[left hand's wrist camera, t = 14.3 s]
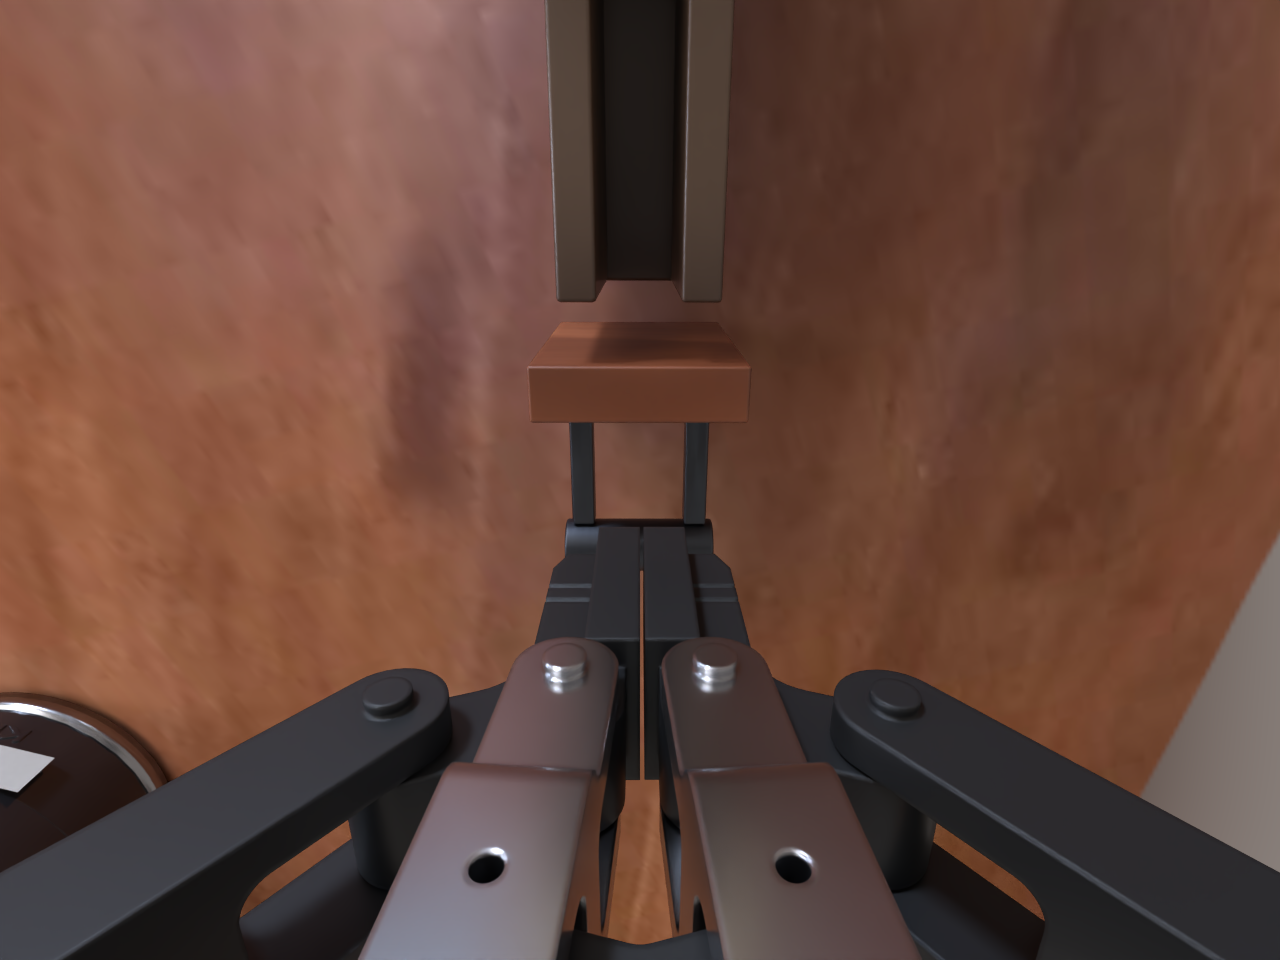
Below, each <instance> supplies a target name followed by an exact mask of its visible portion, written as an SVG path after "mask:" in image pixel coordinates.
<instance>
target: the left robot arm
mask: <svg viewBox="0 0 1280 960" xmlns="http://www.w3.org/2000/svg"><path fill="white" fill-rule="evenodd" d="M643 646H644V767H645V780H659V790H660V822H659V826H660V839H661V847H662V855H663V863H664V871H665V880H666V888H667V896H668V904H669V912H670V920H671V929H672V937H673V938H670V939H666V940H662V941H658V942H654V943H650V944H644V945H635V944H630V943H626V942H622V941H618V940H614V939H610V938H607V937H608V929H609V920H610V912H611V904H612V896H613V888H614V880H615V871H616V863H617V855H618V847H619V839H620V826H621V822H620V813H621V812H622V809H623V806H624V802H625V783H626V780H640V527H599V533H598V540H597V548H596V554H569V555H567V556H566V557H565V558H564V559H563V560H562V561H561V562H560V563H559V564H558V565H557V566H555V567H554V568H553V572H552V576H551V580H550V584H549V589H548V593H547V597H546V602H545V605H544V609H543V613H542V617H541V621H540V625H539V629H538V633H537V637H536V641H535V645H532V646H531V647H529V648H527V649H526V650H525V651H523V652H522V653H521V654H520V655H519V656H518V657H517V658H516V660H515V661H514V663H513V665H512V668H511V670H510V673H509V675H508V677H507V680H506V681H505V682H503V683H501V684H499V685H496V686H494V687H491V688H488V689H484V690H480V691H476V692H472V693H467V694H462V695H458V696H453V697H449V692H448V688H447V685H446V683H445V682H444V681H443V679H441V678H440V677H439V676H437V675H436V674H433V673H431V672H429V671H425V670H421V669H411V668H403V669H393V670H387V671H383V672H379V673H376V674H373V675H370V676H367V677H365V678H363V679H361V680H359V681H357V682H355V683H353V684H351V685H349V686H347V687H346V688H344V689H342V690H340V691H338V692H336V693H334V694H332V695H331V696H329V697H327V698H325V699H323V700H321V701H319V702H318V703H316V704H314V705H312V706H310V707H308V708H306V709H304V710H303V711H301V712H299V713H297V714H295V715H293V716H291V717H290V718H288V719H286V720H284V721H282V722H280V723H278V724H277V725H275V726H273V727H271V728H269V729H267V730H265V731H263V732H262V733H260V734H258V735H256V736H254V737H252V738H250V739H249V740H247V741H245V742H243V743H241V744H239V745H237V746H236V747H234V748H232V749H230V750H228V751H226V752H224V753H222V754H221V755H219V756H217V757H215V758H213V759H211V760H209V761H208V762H206V763H204V764H202V765H200V766H198V767H196V768H195V769H193V770H191V771H189V772H187V773H185V774H183V775H181V776H180V777H178V778H176V779H174V780H172V781H170V782H167V780H166V778H165V775H164V774H163V772H162V770H161V769H160V767H159V766H158V764H157V763H156V761H155V760H154V759H153V757H152V756H151V755H150V754H149V753H148V752H147V751H146V749H145V748H144V747H143V746H142V745H141V744H140V743H139V742H138V741H137V740H135V739H134V738H133V737H132V736H131V735H129V734H128V733H127V732H126V731H124V730H123V729H121V728H120V727H119V726H117V725H116V724H114V723H113V722H111V721H109V720H108V719H106V718H104V717H103V716H101V715H99V714H97V713H95V712H93V711H91V710H89V709H86V708H84V707H82V706H79V705H76V704H74V703H71V702H68V701H65V700H61V699H58V698H54V697H49V696H44V695H39V694H31V693H18V692H9V693H0V960H1280V873H1279V872H1278V871H1276V870H1274V869H1272V868H1270V867H1268V866H1266V865H1264V864H1263V863H1261V862H1259V861H1257V860H1255V859H1253V858H1251V857H1250V856H1248V855H1246V854H1244V853H1242V852H1240V851H1238V850H1236V849H1235V848H1233V847H1231V846H1229V845H1227V844H1225V843H1223V842H1222V841H1220V840H1218V839H1216V838H1214V837H1212V836H1210V835H1209V834H1207V833H1205V832H1203V831H1201V830H1199V829H1197V828H1196V827H1194V826H1192V825H1190V824H1188V823H1186V822H1184V821H1182V820H1181V819H1179V818H1177V817H1175V816H1173V815H1171V814H1169V813H1168V812H1166V811H1164V810H1162V809H1160V808H1158V807H1156V806H1154V805H1153V804H1151V803H1149V802H1147V801H1145V800H1143V799H1141V798H1140V797H1138V796H1136V795H1134V794H1132V793H1130V792H1128V791H1127V790H1125V789H1123V788H1121V787H1119V786H1117V785H1115V784H1113V783H1112V782H1110V781H1108V780H1106V779H1104V778H1102V777H1100V776H1099V775H1097V774H1095V773H1093V772H1091V771H1089V770H1087V769H1086V768H1084V767H1082V766H1080V765H1078V764H1076V763H1074V762H1072V761H1071V760H1069V759H1067V758H1065V757H1063V756H1061V755H1059V754H1058V753H1056V752H1054V751H1052V750H1050V749H1048V748H1046V747H1045V746H1043V745H1041V744H1039V743H1037V742H1035V741H1033V740H1031V739H1030V738H1028V737H1026V736H1024V735H1022V734H1020V733H1018V732H1017V731H1015V730H1013V729H1011V728H1009V727H1007V726H1005V725H1003V724H1002V723H1000V722H998V721H996V720H994V719H992V718H990V717H989V716H987V715H985V714H983V713H981V712H979V711H977V710H976V709H974V708H972V707H970V706H968V705H966V704H964V703H962V702H961V701H959V700H957V699H955V698H953V697H951V696H949V695H948V694H946V693H944V692H942V691H940V690H938V689H936V688H935V687H933V686H931V685H929V684H927V683H925V682H923V681H921V680H919V679H917V678H914V677H911V676H909V675H906V674H902V673H898V672H893V671H887V670H865V671H859V672H855V673H852V674H850V675H848V676H846V677H844V678H843V679H842V680H841V681H840V682H839V683H838V684H837V686H836V688H835V691H834V697H833V696H829V695H824V694H819V693H815V692H810V691H806V690H802V689H798V688H795V687H792V686H789V685H786V684H784V683H782V682H780V681H778V680H776V679H775V678H773V677H772V675H771V673H770V670H769V668H768V665H767V663H766V661H765V660H764V658H763V657H762V656H761V655H760V654H759V653H758V652H757V651H755V650H754V649H753V648H751V647H750V643H749V639H748V635H747V631H746V627H745V623H744V620H743V616H742V612H741V608H740V604H739V602H738V596H737V593H736V589H735V588H734V581H733V577H732V573H731V569H730V567H728V566H727V565H726V564H725V563H724V562H723V561H722V560H721V559H720V558H718V557H717V556H716V555H715V554H688V549H687V542H686V535H685V529H684V527H644V546H643ZM347 820H348V821H349V827H350V832H351V837H352V839H350V840H349V841H348V842H346V843H345V844H343V845H342V846H341V847H339V848H338V849H336V850H335V851H334V852H332V853H331V854H329V855H328V856H327V857H325V858H324V859H322V860H321V861H320V862H318V863H317V864H315V865H314V866H313V867H311V868H310V869H308V870H307V871H306V872H304V873H303V874H301V875H300V876H299V877H297V878H296V879H294V880H293V881H292V882H290V883H289V884H287V885H286V886H285V887H283V888H282V889H280V890H279V891H278V892H276V893H275V894H273V895H272V896H271V897H269V898H268V899H266V900H265V901H264V902H262V903H261V904H259V905H258V906H257V907H255V908H254V909H252V910H251V911H250V912H248V913H247V914H245V915H244V916H243V917H241V918H240V913H241V910H242V907H243V905H244V903H245V901H246V899H247V898H248V896H249V895H250V893H251V892H252V890H253V889H254V888H255V887H256V886H257V885H258V883H260V882H261V881H262V880H263V879H264V878H265V877H266V876H267V875H269V874H270V873H271V872H273V871H274V870H276V869H277V868H279V867H280V866H282V865H283V864H284V863H286V862H287V861H289V860H290V859H292V858H293V857H295V856H296V855H297V854H299V853H300V852H302V851H303V850H305V849H306V848H308V847H309V846H311V845H312V844H313V843H315V842H316V841H318V840H319V839H321V838H322V837H324V836H325V835H326V834H328V833H329V832H331V831H332V830H334V829H335V828H337V827H338V826H340V825H341V824H342V823H344V822H345V821H347ZM936 823H938V824H939V825H941V826H942V827H943V828H945V829H946V830H948V831H949V832H951V833H952V834H954V835H955V836H956V837H958V838H959V839H961V840H962V841H964V842H965V843H967V844H968V845H970V846H971V847H972V848H974V849H975V850H977V851H978V852H980V853H981V854H983V855H984V856H985V857H987V858H988V859H990V860H991V861H993V862H994V863H996V864H997V865H998V866H1000V867H1001V868H1003V869H1004V870H1006V871H1007V872H1009V873H1010V874H1012V875H1013V876H1014V877H1016V878H1017V879H1018V880H1019V881H1020V882H1022V883H1023V884H1024V885H1025V886H1026V887H1027V888H1028V890H1029V891H1030V892H1031V893H1032V894H1033V896H1034V897H1035V899H1036V900H1037V902H1038V904H1039V905H1040V907H1041V910H1042V912H1043V915H1044V919H1045V921H1043V920H1042V919H1040V918H1039V917H1037V916H1036V915H1035V914H1033V913H1032V912H1030V911H1029V910H1028V909H1026V908H1025V907H1023V906H1022V905H1021V904H1019V903H1018V902H1016V901H1015V900H1014V899H1012V898H1011V897H1009V896H1008V895H1007V894H1005V893H1004V892H1002V891H1001V890H1000V889H998V888H997V887H995V886H994V885H993V884H991V883H990V882H988V881H987V880H986V879H984V878H983V877H981V876H980V875H979V874H977V873H976V872H974V871H973V870H972V869H970V868H969V867H967V866H966V865H965V864H963V863H962V862H960V861H959V860H958V859H956V858H955V857H954V856H952V855H951V854H949V853H948V852H947V851H945V850H944V849H942V848H941V847H940V846H938V845H937V844H935V843H934V842H933V838H934V833H935V828H936Z"/></svg>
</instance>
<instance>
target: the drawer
mask: <svg viewBox="0 0 1280 960" xmlns="http://www.w3.org/2000/svg"><path fill="white" fill-rule="evenodd" d="M544 5H545V29H546V54H547V79H548V103H549V128H550V152H551V177H552V202H553V226H554V251H555V276H556V298H557V300H558V301H559V302H594V301H596V299H597V297H598V295H599V293H600V291H601V289H602V288H603V286H604V284H605V282H606V280H672V281H673V283H674V285H675V287H676V289H677V291H678V293H679V295H680V297H681V299H682V301H683V302H720V301H721V300H722V285H723V261H724V237H725V214H726V190H727V166H728V142H729V118H730V94H731V70H732V47H733V23H734V0H544ZM527 381H528V399H529V416H530V421H531V422H533V423H569V429H570V456H571V484H572V511H573V519H568V520H567V523H566V530H565V557H566V556H567V555H569V554H596V548H597V540H598V533H599V527H640V571H643V546H644V527H684V529H685V535H686V542H687V549H688V554H713V528H712V522H711V520H710V519H705V518H706V492H707V465H708V439H709V423H746V422H748V418H749V401H750V384H751V367H750V365H749V364H748V363H747V361H746V360H745V359H744V357H743V356H742V355H741V353H740V352H739V351H738V349H737V348H736V347H735V345H734V344H733V343H732V341H731V340H730V339H729V337H728V336H727V335H726V333H725V332H724V331H723V329H722V328H721V327H720V325H719V324H718V323H717V322H562V323H560V325H559V326H558V327H557V328H556V330H555V331H554V332H553V334H552V335H551V336H550V338H549V339H548V340H547V342H546V343H545V344H544V346H543V347H542V348H541V350H540V351H539V352H538V354H537V355H536V356H535V357H534V359H533V360H532V361H531V363H530V364H529V365H528V367H527ZM594 423H685V427H684V467H683V507H682V517H683V519H595V518H596V496H595V453H594Z"/></svg>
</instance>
